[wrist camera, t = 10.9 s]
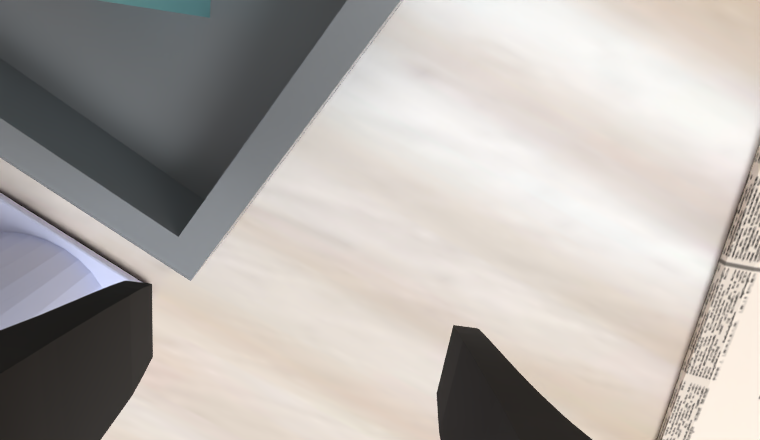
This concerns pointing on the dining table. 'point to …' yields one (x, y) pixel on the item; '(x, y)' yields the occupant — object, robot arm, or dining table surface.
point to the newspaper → (725, 341)
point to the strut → (172, 5)
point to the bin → (170, 106)
